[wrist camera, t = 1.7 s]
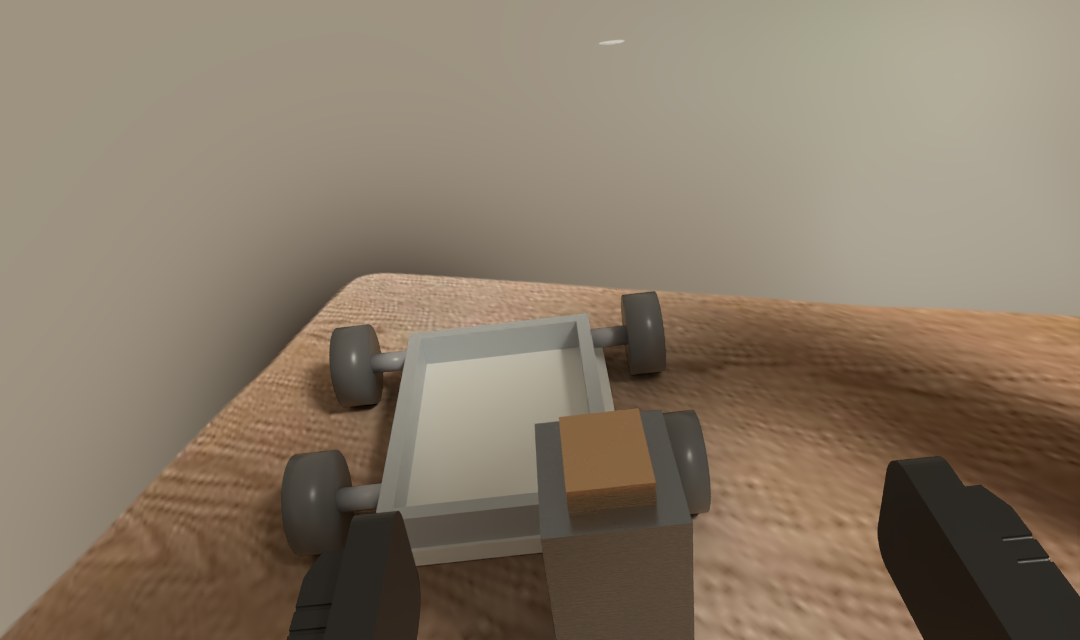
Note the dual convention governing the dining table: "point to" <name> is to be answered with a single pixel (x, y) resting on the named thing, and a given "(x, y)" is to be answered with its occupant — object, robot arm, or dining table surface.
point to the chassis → (475, 430)
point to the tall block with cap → (614, 528)
